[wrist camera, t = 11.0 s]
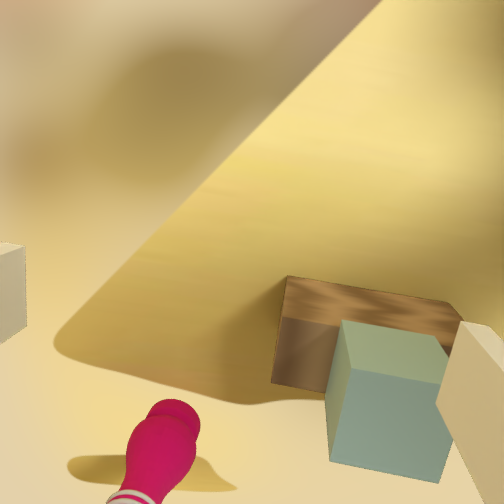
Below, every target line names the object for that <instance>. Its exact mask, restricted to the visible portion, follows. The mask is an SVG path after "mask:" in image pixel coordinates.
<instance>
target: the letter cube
mask: <svg viewBox="0 0 504 504" xmlns="http://www.w3.org/2000/svg"><path fill="white" fill-rule="evenodd" d="M448 361H449V357H448V356H447V354H446V353H445V351H444V350H443V348H442V347H441V345H440V344H439V342H438V341H437V339H436V338H435V336H432V335H426V334H421V333H415V332H409V331H404V330H398V329H393V328H387V327H381V326H376V325H370V324H365V323H359V322H353V321H348V320H341V324H340V329H339V334H338V338H337V343H336V347H335V352H334V356H333V361H332V366H331V370H330V375H329V379H328V384H327V388H326V393H325V409H326V422H327V435H328V447H329V460H330V461H331V462H335V463H340V464H345V465H350V466H354V467H359V468H364V469H369V470H374V471H379V472H384V473H389V474H393V475H399V476H403V477H408V478H413V479H418V480H423V481H428V482H433V483H439V481H440V478H441V475H442V472H443V469H444V466H445V463H446V460H447V457H448V454H449V451H450V448H451V445H452V442H453V438H452V436H451V434H450V432H449V430H448V428H447V426H446V424H445V422H444V420H443V418H442V416H441V414H440V412H439V410H438V408H437V406H436V404H435V403H436V400H437V397H438V393H439V390H440V387H441V384H442V380H443V377H444V374H445V370H446V367H447V364H448Z"/></svg>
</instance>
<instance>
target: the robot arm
mask: <svg viewBox="0 0 504 504" xmlns="http://www.w3.org/2000/svg"><path fill="white" fill-rule="evenodd" d="M26 326H27V320H26V264H25V246H24V245H17V244H12V243H6V242H0V344H1V343H3V342H4V341H6V340H7V339H9V338H10V337H11V336H13V335H15V334H16V333H17V332H19V331H20V330H22V329H23V328H25V327H26ZM435 404H436V406H437V408H438V410H439V412H440V414H441V416H442V418H443V420H444V422H445V424H446V426H447V428H448V430H449V432H450V434H451V436H452V438H453V440H454V442H455V444H456V446H457V448H458V450H459V453H460V454H461V457H462V459H463V461H464V463H465V465H466V467H467V469H468V471H469V473H470V475H471V477H472V479H473V481H474V483H475V485H476V487H477V489H478V491H479V493H480V495H481V497H482V499H483V502H484V503H485V504H504V341H503V340H502V339H501V338H500V337H499V336H498V335H497V334H496V333H495V332H494V331H493V330H492V329H491V328H490V327H489V326H487V325H481V324H476V323H470V322H464V321H460V325H459V328H458V331H457V334H456V338H455V341H454V344H453V348H452V351H451V354H450V357H449V361H448V364H447V367H446V370H445V374H444V377H443V380H442V384H441V387H440V390H439V393H438V397H437V400H436V403H435Z"/></svg>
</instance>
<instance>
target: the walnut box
mask: <svg viewBox="0 0 504 504" xmlns="http://www.w3.org/2000/svg"><path fill="white" fill-rule="evenodd" d="M341 320H348V321H353V322H359V323H365V324H370V325H376V326H381V327H387V328H393V329H398V330H404V331H409V332H415V333H421V334H426V335H432V336H435V338H436V339H437V341H438V342H439V344H440V345H441V347H442V348H443V350H444V351H445V353H446V354H447V356H448V357H450V354H451V351H452V348H453V344H454V341H455V338H456V334H457V331H458V328H459V325H460V321H464V320H463V319H462V317H461V316H460V315H459V314H458V313H457V312H456V311H455V309H454V308H453V307H452V306H451V305H450V304H449V303H445V302H439V301H433V300H427V299H421V298H416V297H410V296H404V295H398V294H392V293H387V292H381V291H375V290H369V289H363V288H357V287H352V286H346V285H340V284H334V283H328V282H322V281H317V280H311V279H305V278H299V277H293V276H287V281H286V287H285V292H284V298H283V304H282V310H281V315H280V321H279V327H278V334H277V341H276V349H275V356H274V363H273V370H272V378H271V383H274V384H280V385H285V386H290V387H295V388H300V389H306V390H311V391H316V392H321V393H326V388H327V384H328V379H329V375H330V370H331V366H332V361H333V356H334V352H335V347H336V343H337V338H338V334H339V329H340V324H341ZM464 322H465V321H464Z"/></svg>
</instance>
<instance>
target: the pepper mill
mask: <svg viewBox="0 0 504 504" xmlns="http://www.w3.org/2000/svg"><path fill="white" fill-rule="evenodd" d="M199 432H200V419H199V417H198V415H197V413H196V412H195V410H194V409H193V408H192V407H191V406H190V405H188V404H187V403H185V402H183V401H181V400H176V399H166V400H162V401H159V402H158V403H156V404H155V405H154V406H153V407H152V408H151V410H150V411H149V413H148V415H147V417H146V419H145V420H143V421H142V422H140V423H139V424H138V425H137V426H136V427H135V429H134V430H133V432H132V434H131V437H130V439H129V442H128V445H127V451H126V475H125V478H124V481H123V483H122V485H121V488H120V489H119V491H118V492H116V493H114V494H112V495H111V496H110V497H109V499H108V500H107V502H106V504H161V503H162V501H163V499H164V497H165V496H166V495H167V493H169V492H170V491H171V490H172V489H173V488H174V487H175V486H176V485H177V484H178V483H179V482H180V481H181V480H182V479H183V478H184V477H185V475H186V474H187V473H188V472H189V470H190V468H191V466H192V464H193V462H194V459H195V456H196V443H195V442H196V440H197V437H198V434H199Z"/></svg>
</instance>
